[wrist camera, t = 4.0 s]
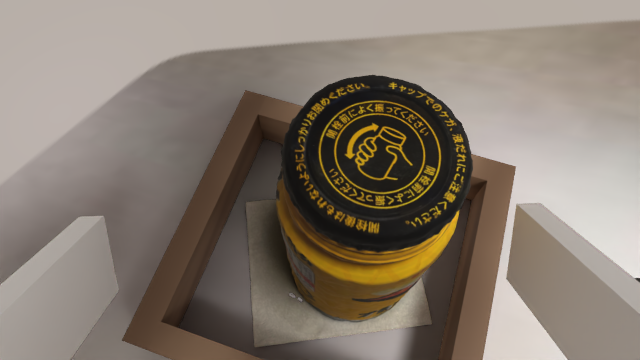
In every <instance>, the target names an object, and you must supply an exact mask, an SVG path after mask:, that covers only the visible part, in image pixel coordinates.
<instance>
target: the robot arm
mask: <svg viewBox="0 0 640 360" xmlns="http://www.w3.org/2000/svg"><path fill="white" fill-rule="evenodd" d="M506 279H507V280H508V281H509V283H510V284H511V285H512V287H513V288H514V289H515V291H516V292H517V293H518V295H519V296H520V297H521V299H522V300H523V301H524V302H525V304H526V305H527V306H528V308H529V309H530V310H531V312H532V313H533V314H534V316H535V317H536V318H537V320H538V321H539V322H540V324H541V325H542V326H543V328H544V329H545V330H546V331H547V333H548V334H549V335H550V337H551V338H552V339H553V341H554V342H555V343H556V345H557V346H558V347H559V349H560V350H561V351H562V353H563V354H564V355H565V357H566V358H567V359H568V360H640V278H633V277H632V276H631V275H630V274H628V273H627V272H626V271H625V270H623V269H622V268H621V267H620V266H618V265H617V264H616V263H615V262H613V261H612V260H611V259H610V258H608V257H607V256H606V255H605V254H603V253H602V252H601V251H600V250H598V249H597V248H596V247H595V246H593V245H592V244H591V243H590V242H588V241H587V240H586V239H585V238H583V237H582V236H581V235H580V234H578V233H577V232H576V231H575V230H573V229H572V228H571V227H570V226H568V225H567V224H566V223H565V222H563V221H562V220H561V219H559V218H558V217H557V216H556V215H554V214H553V213H552V212H551V211H549V210H548V209H547V208H546V207H544V206H543V205H542V204H541V203H531V204H517V205H516V212H515V219H514V227H513V234H512V241H511V249H510V256H509V263H508V271H507V278H506ZM118 291H119V289H118V284H117V279H116V274H115V269H114V264H113V259H112V254H111V249H110V244H109V239H108V234H107V229H106V224H105V219H104V216H79V217H78V218H77V219H76V220H75V221H74V222H72V223H71V224H70V225H69V226H68V227H67V228H65V229H64V230H63V231H62V232H61V233H60V234H59V235H57V236H56V237H55V238H54V239H53V240H52V241H50V242H49V243H48V244H47V245H46V246H45V247H43V248H42V249H41V250H40V251H39V252H38V253H36V254H35V255H34V256H33V257H32V258H31V259H30V260H28V261H27V262H26V263H25V264H24V265H23V266H21V267H20V268H19V269H18V270H17V271H16V272H14V273H13V274H12V275H11V276H10V277H9V278H8V279H6V280H5V281H4V282H3V283H2V284H1V285H0V360H71V358H72V357H73V356H74V354H75V353H76V351H77V350H78V348H79V347H80V346H81V344H82V343H83V341H84V340H85V338H86V337H87V336H88V334H89V333H90V331H91V330H92V328H93V327H94V326H95V324H96V323H97V321H98V320H99V318H100V317H101V316H102V314H103V313H104V311H105V310H106V308H107V307H108V306H109V304H110V303H111V301H112V300H113V298H114V297H115V295H116V294H117V293H118Z"/></svg>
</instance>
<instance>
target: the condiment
mask: <svg viewBox="0 0 640 360" xmlns="http://www.w3.org/2000/svg"><path fill="white" fill-rule="evenodd" d="M281 155H282V164H281V166H282V168H281V172H280V175H279V177H278V183H277V192H276V199H269V200H259V201H250V202H245V204H246V216H247V232H248V250H249V264H250V280H251V298H252V315H253V335H254V347H261V346H269V345H276V344H285V343H292V342H299V341H306V340H315V339H322V338H330V337H338V336H347V335H355V334H362V333H370V332H378V331H385V330H393V329H400V328H408V327H416V326H423V325H430V324H432V320H431V316H430V311H429V306H428V302H427V297H426V294H425V289H424V285H423V281H422V275H423V274H424V272H425V271H426V270H427V269H429V267H430V266H431V265H432V264H433V263H434V262H435V261H436V260H437V259H438V258H439V257H440V256H441V255H442V252H443V251H444V249H445V248H446V246H447V244H448V243H449V241H450V239H451V237H452V235H453V234H454V231H455V228H456V224H457V220H458V216H459V210H460V209H461V208H462V204H463V202H464V200H465V197H466V196H467V194H468V193H469V189H470V180H471V175H472V171H473V160H472V157H471V151H470V148H469V141H468V138H467V135H466V133H465V131H464V128H463V126H462V123H461V122H460V121H459V120H458V119H456V118H455V116H454V114H453V113H452V111H451V110H450V109H449V108H448V107H447V105H445V104H444V103H443V102H442V101H441V100H439V99H437V98H436V97H435V96H434V95H432V94H431V93H429V92H427V91H425V90H424V89H423V88H422V87H421V86H419V85H417V84H413V83H409V82H407V81H404V80H399V79H394V78H389V77H385V76H376V75H369V76H362V77H354V78H346V79H343V80H340V81H338V82H335V83H333V84H329V85H327V86H326V87H324V88H323V89H321V90H320V91H318V92H317V93H315V94H314V95H313V96H312V97H311V98H310V99H309V101H308V102H307V103H306V104H305V106H304V107H303V108H302V109H301V110H300V111H299V113H298V114H297V116H296V117H295V118H293V119H292V121H291V123H290V125H289V130H288V132H287V133H286V134H285V138H284V144H283V147H282V149H281ZM290 292H291V293H293V294H294V295H295V296H296V298H292V297H291V296H290V295H289V293H290ZM298 297H300V298H301V299H302V300H303V301H302V302H299V301H298V300H297V298H298Z"/></svg>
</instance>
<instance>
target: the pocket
mask: <svg viewBox="0 0 640 360" xmlns="http://www.w3.org/2000/svg"><path fill="white" fill-rule="evenodd" d="M302 108H303V106H299V105H296V104H292V103H289V102H285V101H282V100H278V99H275V98H271V97H268V96H264V95H261V94H257V93H253V92H250V91H246V90H245V92H244V94H243V96H242V98H241V100H240V102H239V105H238V107H237V109H236V111H235V113H234V115H233V117H232V119H231V121H230V123H229V125H228V127H227V129H226V131H225V133H224V135H223V137H222V139H221V141H220V143H219V145H218V147H217V149H216V151H215V153H214V155H213V157H212V159H211V161H210V163H209V165H208V167H207V169H206V171H205V173H204V175H203V177H202V179H201V181H200V183H199V185H198V187H197V189H196V192H195V194H194V196H193V198H192V200H191V202H190V204H189V206H188V208H187V210H186V212H185V214H184V216H183V218H182V220H181V222H180V224H179V226H178V228H177V230H176V232H175V234H174V236H173V238H172V240H171V242H170V244H169V246H168V248H167V250H166V252H165V254H164V256H163V258H162V260H161V262H160V264H159V266H158V268H157V270H156V272H155V274H154V276H153V279H152V281H151V283H150V285H149V287H148V289H147V291H146V293H145V295H144V297H143V299H142V301H141V303H140V305H139V307H138V309H137V311H136V313H135V315H134V317H133V319H132V321H131V323H130V325H129V327H128V329H127V331H126V333H125V335H124V337H123V339H122V341H125V342H128V343H130V344H133V345H135V346H138V347H141V348H143V349H146V350H149V351H151V352H154V353H156V354H159V355H162V356H164V357H167V358H170V359H172V360H263V359H261V358H258V357H255V356H253V355H250V354H247V353H244V352H242V351H239V350H236V349H234V348H231V347H228V346H226V345H223V344H220V343H217V342H215V341H212V340H209V339H207V338H204V337H201V336H198V335H196V334H193V333H190V332H188V331H185V330H182V329H180V328H179V325H180V323H181V321H182V319H183V316H184V314H185V312H186V310H187V308H188V305H189V303H190V301H191V299H192V296H193V294H194V292H195V290H196V288H197V285H198V283H199V281H200V279H201V276H202V274H203V272H204V270H205V267H206V265H207V263H208V261H209V259H210V256H211V254H212V252H213V250H214V247H215V245H216V243H217V241H218V239H219V236H220V234H221V232H222V230H223V227H224V225H225V223H226V221H227V219H228V216H229V214H230V212H231V210H232V207H233V205H234V203H235V201H236V199H237V196H238V194H239V192H240V190H241V187H242V185H243V183H244V181H245V178H246V176H247V174H248V172H249V170H250V167H251V165H252V163H253V161H254V158H255V156H256V154H257V152H258V150H259V147H260V145H261V143H262V141H263V138H264V139H267V140H271V141H274V142H277V143H281V144H284V138H285V134H286V133H287V132H288V130H289V125H290V123H291V121H292V119H293V118H295V117H296V116H297V114H298V113H299V111H300V110H301V109H302ZM471 157H472V160H473V171H472V175H471V180H470V189H469V193H468V194H467V196H466V197H465V198H466V199H469V200H472V202H471V206H470V211H469V216H468V220H467V225H466V230H465V235H464V239H463V244H462V249H461V254H460V258H459V263H458V268H457V272H456V277H455V282H454V287H453V291H452V296H451V301H450V305H449V310H448V315H447V320H446V324H445V329H444V334H443V339H442V343H441V348H440V353H439V357H438V360H482V359H483V354H484V348H485V342H486V336H487V331H488V325H489V319H490V313H491V307H492V302H493V296H494V290H495V284H496V279H497V273H498V267H499V261H500V255H501V250H502V244H503V238H504V232H505V227H506V221H507V215H508V209H509V203H510V198H511V192H512V186H513V180H514V175H515V169H516V167H515V166H512V165H508V164H505V163H501V162H497V161H494V160H490V159H487V158H483V157H480V156H476V155H473V154H471Z"/></svg>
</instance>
